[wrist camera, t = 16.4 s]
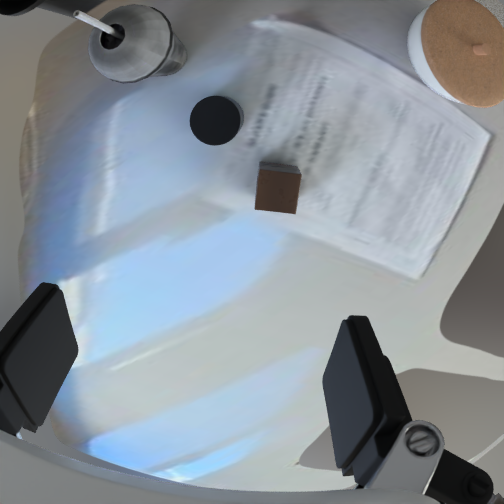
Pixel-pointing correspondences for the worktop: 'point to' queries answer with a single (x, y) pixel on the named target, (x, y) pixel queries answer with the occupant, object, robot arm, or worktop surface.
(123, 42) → the beverage cup
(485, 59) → the lidded bowl
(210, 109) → the black cylinder
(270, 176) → the walnut block
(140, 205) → the worktop surface
